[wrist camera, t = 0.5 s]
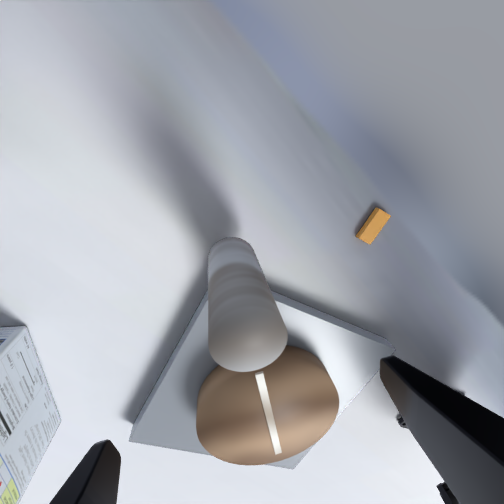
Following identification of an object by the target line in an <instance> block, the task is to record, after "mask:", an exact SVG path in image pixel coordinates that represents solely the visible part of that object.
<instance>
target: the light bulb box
mask: <svg viewBox="0 0 504 504" xmlns="http://www.w3.org/2000/svg"><path fill="white" fill-rule="evenodd" d="M60 423H61V419H60V417H59V414H58V411H57V408H56V406H55V403H54V400H53V397H52V395H51V392H50V389H49V387H48V384H47V381H46V378H45V375H44V373H43V370H42V367H41V365H40V362H39V359H38V356H37V354H36V351H35V348H34V346H33V343H32V340H31V338H30V335H29V332H28V329H27V327H26V326H16V327H0V504H18V503H19V502H20V500H21V498H22V496H23V494H24V492H25V490H26V488H27V486H28V484H29V482H30V480H31V478H32V476H33V474H34V473H35V470H36V468H37V467H38V465H39V463H40V461H41V459H42V457H43V455H44V453H45V451H46V449H47V447H48V446H49V444H50V442H51V440H52V438H53V436H54V434H55V432H56V430H57V428H58V427H59V425H60Z"/></svg>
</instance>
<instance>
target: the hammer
mask: <svg viewBox="0 0 504 504" xmlns="http://www.w3.org/2000/svg"><path fill="white" fill-rule="evenodd" d="M287 339H288V333H287V328H286V326H285V323H284V321H283V319H282V316H281V314H280V311H279V309H278V307H277V304H276V302H275V300H274V297H273V295H272V293H271V290H270V288H269V286H268V283H267V281H266V279H265V276H264V274H263V271H262V269H261V267H260V264H259V262H258V260H257V257H256V255H255V253H254V250H253V248H252V247H251V245H250V244H249V243H248V242H246V241H245V240H243V239H240V238H236V237H229V238H224V239H222V240H220V241H218V242H217V243H215V244H214V245H213V247H212V248H211V250H210V252H209V255H208V346H209V352H210V354H211V356H212V358H213V359H214V360H215V361H216V362H217V363H218V364H219V365H218V366H217V367H216V368H215V369H214V370H212V372H211V373H210V374H209V375H208V376H207V377H206V379H205V380H204V382H203V384H202V386H201V388H200V390H199V393H198V397H197V413H196V432H197V436H198V439H199V441H200V443H201V445H202V446H203V447H204V448H205V450H206V451H208V452H209V453H210V454H211V455H213V456H215V457H216V458H218V459H220V460H223V461H226V462H229V463H233V464H239V465H262V464H269V463H274V462H278V461H281V460H284V459H287V458H290V457H292V456H295V455H297V454H299V453H301V452H303V451H304V450H306V449H308V448H309V447H311V446H312V445H313V444H315V443H316V442H317V441H318V440H320V439H321V438H322V437H323V436H324V435H325V434H326V432H327V431H328V430H329V429H330V427H331V426H332V424H333V423H334V421H335V419H336V416H337V413H338V409H339V395H338V392H337V389H336V387H335V385H334V383H333V381H332V379H331V377H330V375H329V373H328V371H327V370H326V368H325V366H324V365H323V363H322V362H321V361H320V360H319V359H318V358H317V357H316V356H315V355H313V354H312V353H310V352H308V351H306V350H304V349H301V348H298V347H294V346H289V345H286V344H287Z"/></svg>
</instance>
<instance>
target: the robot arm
mask: <svg viewBox="0 0 504 504" xmlns="http://www.w3.org/2000/svg"><path fill="white" fill-rule="evenodd" d="M380 377H381V380H382V382H383V384H384V386H385V388H386V389H387V391H388V393H389V395H390V397H391V398H392V400H393V402H394V404H395V405H396V407H397V409H398V411H399V413H400V414H401V416H402V417H401V419H400V420H399V421H398V423H399V425H400V426H401V427H404V428H407V429H409V430H410V431H411V433H412V434H413V436H414V438H415V439H416V440H417V442H418V443H419V445H420V446H421V448H422V449H423V451H424V452H425V453H426V455H427V456H428V458H429V459H430V461H431V462H432V464H433V465H434V467H435V468H436V469H437V471H438V472H439V474H440V475H441V477H442V478H443V480H444V481H445V482H444V483H440V484H438V485H437V488H438V490H439V491H440V495H441V497H442V499H443V501H444V503H445V504H504V418H503V417H501V416H499V415H497V414H496V413H494V412H492V411H490V410H488V409H487V408H485V407H483V406H481V405H480V404H478V403H476V402H474V401H473V400H471V399H469V398H467V397H466V396H464V395H462V394H460V393H459V392H457V391H455V390H453V389H452V388H450V387H448V386H446V385H445V384H443V383H441V382H439V381H438V380H436V379H434V378H432V377H431V376H429V375H427V374H425V373H424V372H422V371H420V370H418V369H416V368H415V367H413V366H411V365H409V364H408V363H406V362H404V361H402V360H401V359H399V358H397V357H395V356H393V355H390V356H386V357H383V358H381V359H380ZM120 466H121V456H120V453H119V452H118V450H117V449H116V448H115V446H114V445H113V444H112V442H111V441H110V440H104V441H100V442H97V443H95V444H94V445H93V446H92V447H91V448H90V450H89V451H88V452H87V454H86V455H85V456H84V458H83V459H82V460H81V462H80V463H79V464H78V466H77V467H76V468H75V470H74V471H73V473H72V474H71V475H70V477H69V478H68V479H67V481H66V482H65V483H64V485H63V486H62V487H61V489H60V490H59V491H58V493H57V494H56V495H55V497H54V498H53V499H52V501H51V502H50V503H49V504H116V503H117V493H118V484H119V475H120Z"/></svg>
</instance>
